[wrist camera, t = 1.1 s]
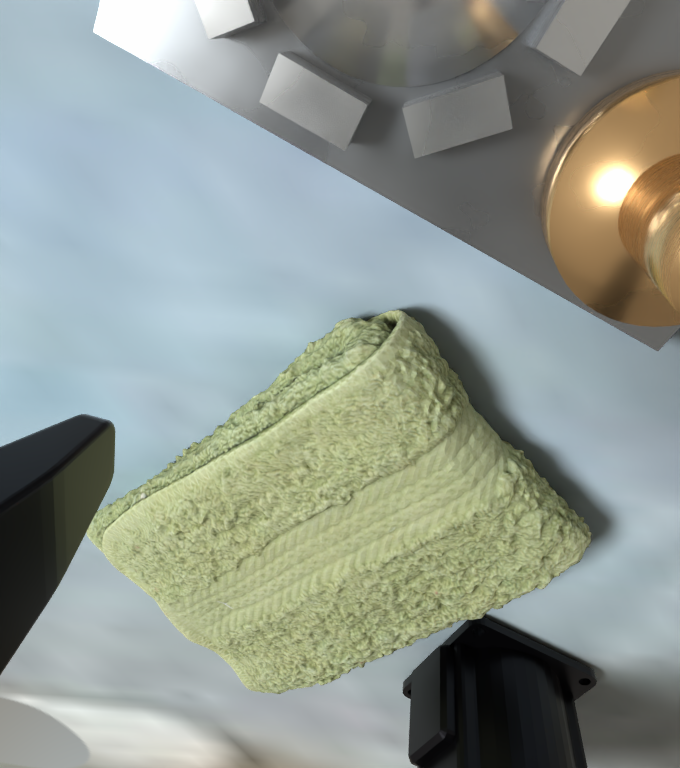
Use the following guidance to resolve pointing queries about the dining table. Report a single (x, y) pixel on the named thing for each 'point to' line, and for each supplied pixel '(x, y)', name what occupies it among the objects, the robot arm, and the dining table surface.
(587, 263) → the bronze flanged knob
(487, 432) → the washcloth
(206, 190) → the dining table surface
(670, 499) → the dining table surface
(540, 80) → the carrier plate
